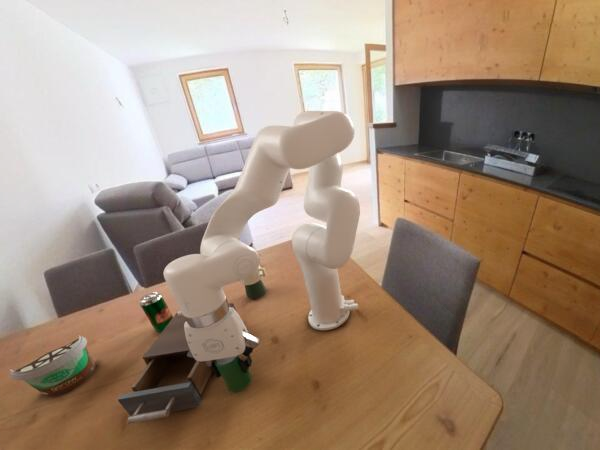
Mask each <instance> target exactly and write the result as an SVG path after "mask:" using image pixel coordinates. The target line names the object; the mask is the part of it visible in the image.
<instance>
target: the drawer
mask: <svg viewBox="0 0 600 450" xmlns="http://www.w3.org/2000/svg"><path fill="white" fill-rule="evenodd" d="M187 354H188V353H184V354H178V355H172V356H166V357H160V358H154V359H151V361H150V362H149V364H148V365H147V364H146V366H145V367H144V368H143V370H142V372H140V374H139V376H138V377H137V378H136V380H135V381H134V383H133V384H132V386H131V387H130V389H131V390H132V391H131V392H126V393H120V395H119V397H118V398H117V401H118V403H119V404H120V405H121V406H122V408H123V409H124V410H125V411H126V413H127V414H128V415H129V417H128V418H127V420H126V423H127V424H128V425H132V424H136V423H142V422H148V421H152V420H158V419H162V418H168V417H169V416H170V414H171V413H172V412H178V411H183V410H187V409H194V408H199V407H201V405H202V403H203V399H202V398H201V395H202V393H203V392H204V390H205V387H206V386H207V383H208V381H209V379H210V377H211V375H212V373H213V372H212V369H211V367H210V366H206V364H205V363H204V362H201V361H197V360H195V358H191V357H188V356H187Z"/></svg>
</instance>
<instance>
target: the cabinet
mask: <svg viewBox="0 0 600 450" xmlns="http://www.w3.org/2000/svg"><path fill="white" fill-rule="evenodd" d="M228 304H229V306H230V307H233V308H234V309H235V310H236V312H237V309H236V307H235V304H234V303H233V302H228ZM237 313H238V312H237ZM185 322H186V320H185V318H184V317H183V316H180V317H179V316H178V311H177V312H176V313H175V314H174V315H173V318H172V320H171V321H170V322H169V324H168V325H167V326H166V328H165V329H164V330H163V331H162V332H160V333H159V335H158V336H157V337H156V339H155V340H154V342H153V343H152V344H151V345H150V347H149V348H148V349H147V351H146V352H145V353H144V355H143V356H142V360H143V361H144V363H145V364H146V366H147V365H148V364H149V362H150V361H151V359H154V358H160V357H166V356H172V355H178V354H184V353H188V352H189V351H190V348H189V346H188V343H187V340H186V336H185V330H184V324H185ZM212 373H213V371H212Z"/></svg>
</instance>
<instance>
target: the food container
mask: <svg viewBox="0 0 600 450" xmlns="http://www.w3.org/2000/svg"><path fill="white" fill-rule="evenodd" d="M87 344H88V340H87V338H86V337H84V336H83V335H80V334H78V338H77V339H75V340H73V341H71V342H70V343H68V344H65V345H63V346H61V347H58V348H55V349H53V350H50V351H48V352H46V353H45V354H43V355H42V356H40V357H38V358H36V359H35V360H33V361H32V362H30V363H28V364H26V365H24V366H22V367H20V368H18V369H15V370H12V369H11V368H10V369H9V371H10V372H9V374H10V376H11V378H12V379H13V380H15V381H24V382H25V383H27V384H28V385H29V386H31V387H32V388H33V389H35V390H36V391H38V392H39V393H41V394H42V395H43V396H47V397H55V396H59V395H62V394H65V393H68V392H69V391H71V390H73V389H75V388H77V387H78V386H81V384H83V383H84V382H85V381H87V380H88V379H89V378H90V377H91V376H92V375H93V373H94V372H95V370H96V364H95V361H94V359H93V357H92V356H91V353H90V352H89V350H88V348H87Z"/></svg>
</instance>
